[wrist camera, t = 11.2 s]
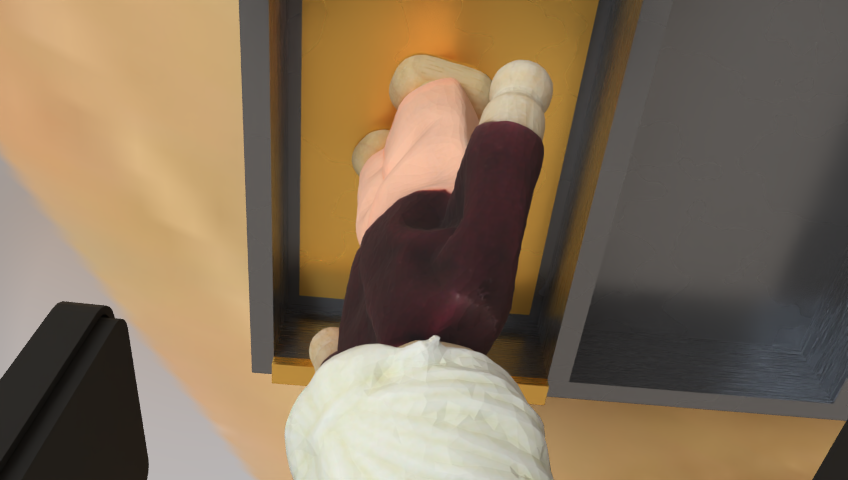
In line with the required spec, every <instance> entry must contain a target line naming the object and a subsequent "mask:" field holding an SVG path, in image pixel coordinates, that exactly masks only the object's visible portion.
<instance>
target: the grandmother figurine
mask: <svg viewBox="0 0 848 480" xmlns="http://www.w3.org/2000/svg"><path fill="white" fill-rule="evenodd" d="M552 95H553V82H552V80H551V78H550V76H549V74H548V73H547V71H546V70H545V69H544V68H543V67H542V66H540V65H539V64H538V63H535V62H532V61H529V60H515V61H512V62H510V63H507V64H506V65H504V66H503V67H501V68H500V69H499V70H498V71H497V73H496V74H495V76H494V78H493V80H491V79H490V78H489V77H488V76H487V75H486V74H484V73H483V72H481V71H479V70H476V69H473V68H470V67H467V66H464V65H460V64H456V63H453V62H449V61H446V60H443V59H440V58H437V57H432V56H428V55H414V56H411V57H409V58H407V59H405V60H404V61H403V62H401V63H400V65H399V66H398V67H397V69H396V71H395V73H394V75H393V77H392V80H391V82H390V85H389V96H390V100H391V102H392V104H393V106H394V107H395V108H396V109H397V112H396V115H395V118H394V121H393V124H392V127H391V129H390V130H385V129H384V130H377V131H373V132H371V133H369V134H368V135H366V136H365V137H364V138H363V139H362V140H361V141H360V142H359V143H358V144H357V146H356V147H355V149H354V151H353V154H352V165H353V168H354V170H355V172H356V173H357V174H358V176H359V187H358V195H357V203H358V207H357V218H356V234H357V239H358V242H359V245H360V248H359V249H358V250H357V252H356V255H355V257H354V260H353V263H352V266H351V271H350V276H349V281H348V284H347V289H346V294H345V298H344V304H343V310H342V316H341V322H340V327H339V328H338V327H328V328H325V329H322V330H321V331H319V332H318V333H317V334H316V335H315V336H314V337H313V339H312V341H311V343H310V347H309V356H310V359H311V362H312V364H313V366H314V369H315V374H314V376H313V378H312V379H311V381H310V383H309V384H308V385H307V386H306V388H305V389H304V390H303V391H302V392H301V394H300V395H299V396H298V398H297V400H296V402H295V403H294V405H293V407H292V409H291V412H290V414H289V417H288V420H287V423H286V426H285V444H286V454H287V458H288V463H289V467H290V471H291V474H292V476H293V480H554V479H553V476H552V473H551V468H550V462H549V455H548V449H547V444H546V441H545V432H544V425H543V422H542V420H541V418H540V416H539V415H538V414H537V413H536V412H535V411H534V410H533V408H532V407H531V406H530V405H529V404H528V402H527V400H526V399H525V397H524V395H523V393H522V391H521V390H520V388H519V386H518V384H517V383H516V382H515V381H514V379H513V378H512V377H511V376H510V375H509V374H508V373H507V372H506V371H505V370H504V369H503V368H502V367H500V366H499V365H497V364H496V363H494V362H493V361H492V360H491V359H490V358H488V357H487V356H486V355H487V353H488V352H489V351H490V349H491V347H492V345H493V343H494V342H495V340H496V339H497V338H498V336H499V335H500V333H501V331H502V329H503V327H504V325H505V323H506V321H507V319H508V316H509V313H510V311H511V309H512V301H513V294H514V290H515V279H516V274H517V269H518V261H519V255H520V251H521V245H522V240H523V237H524V232H525V228H526V225H527V218H528V214H529V210H530V206H531V201H532V197H533V193H534V188H535V186H536V183H537V181H538V178H539V175H540V172H541V168H542V164H543V158H544V145H543V142H542V141H543V136H544V132H545V115H544V113H545V112H546V110H547V109H548V107H549V105H550V102H551V99H552Z"/></svg>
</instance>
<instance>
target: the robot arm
mask: <svg viewBox="0 0 848 480" xmlns="http://www.w3.org/2000/svg"><path fill="white" fill-rule="evenodd" d="M148 468H149V463H148V455H147V448H146V442H145V435H144V429H143V422H142V416H141V410H140V403H139V397H138V391H137V384H136V379H135V372H134V365H133V358H132V352H131V346H130V340H129V333H128V327H127V323H126V322H125V320H123V319H115V317H114V314H113V311H112V309H111V308H110V307H108V306H104V305H93V304H83V303H73V302H64V301H62V302H60V303H57V305H56V306H55V307H54V308H53V309H52V310H51V311H50V313H49V314H48V315H47V317H46V318H45V319H44V321H43V322H42V324H41V325H40V326H39V328H38V329H37V330H36V332H35V333H34V334H33V336H32V337H31V339H30V340H29V341H28V343H27V344H26V345H25V347H24V348H23V349H22V351H21V352H20V353H19V355H18V356H17V358H16V359H15V360H14V362H13V363H12V364H11V366H10V367H9V369H8V370H7V371H6V373H5V374H4V375H3V377H2V378H1V379H0V480H147V476H148ZM812 480H848V419H847V421H846V423H845V424H844V426H843V428H842V430H841V431H840V433H839V435H838V436H837V438H836V440H835V442H834V443H833V445H832V447H831V448H830V450H829V452H828V454H827V455H826V457H825V459H824V461H823V462H822V464H821V466H820V467H819V469H818V471H817V473H816V474H815V476H814V478H813V479H812Z"/></svg>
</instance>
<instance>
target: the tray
mask: <svg viewBox="0 0 848 480" xmlns="http://www.w3.org/2000/svg"><path fill="white" fill-rule="evenodd" d="M239 18H240V46H241V74H242V102H243V130H244V158H245V186H246V214H247V242H248V271H249V299H250V327H251V355H252V372H253V373H265V374H272V383H276V384H288V385H301V386H307V385H308V384H309V383H310V381H311V379H312V378H313V376H314V374H315V369H314V366H313V364H312V362H311V359H310V356H309V347H310V343H311V341H312V339H313V337H314V336H315V335H316V334H317V333H318V332H319V331H321V330H322V329H325V328H328V327H338V328H339V327H340V322H341V316H342V310H343V304H344V298H345V294H346V289H347V284H348V281H349V276H350V271H351V266H352V263H353V260H354V257H355V255H356V252H357V250H358V249H359V248H360V245H359V242H358V239H357V234H356V218H357V207H358V203H357V195H358V187H359V176H358V174H357V173H356V172H355V170H354V168H353V165H352V154H353V151H354V149H355V147H356V146H357V144H358V143H359V142H360V141H361V140H362V139H363V138H364V137H365V136H366V135H368V134H369V133H371V132H373V131H377V130H384V129H385V130H390V129H391V127H392V124H393V121H394V118H395V115H396V112H397V109H396V108H395V107H394V106H393V104H392V102H391V100H390V96H389V85H390V82H391V80H392V77H393V75H394V73H395V71H396V69H397V67H398V66H399V65H400V63H401V62H403V61H404V60H405V59H407V58H409V57H411V56H414V55H428V56H432V57H437V58H440V59H443V60H446V61H449V62H453V63H456V64H460V65H464V66H467V67H470V68H473V69H476V70H479V71H481V72H483V73H484V74H486V75H487V76H488V77H489V78H490V79H491V80H493V78H494V76H495V74H496V73H497V71H498V70H499V69H500V68H501V67H503V66H504V65H506V64H507V63H510V62H512V61H515V60H529V61H532V62H535V63H538V64H539V65H540V66H542V67H543V68H544V69H545V70H546V71H547V73H548V74H549V76H550V78H551V80H552V82H553V95H552V99H551V102H550V105H549V107H548V109H547V110H546V112H545V113H544V115H545V132H544V136H543V141H542V142H543V145H544V158H543V164H542V168H541V172H540V175H539V178H538V181H537V183H536V186H535V188H534V193H533V197H532V201H531V206H530V210H529V214H528V218H527V225H526V228H525V232H524V237H523V240H522V245H521V251H520V255H519V261H518V269H517V274H516V279H515V290H514V294H513V301H512V309H511V311H510V313H509V316H508V319H507V321H506V323H505V325H504V327H503V329H502V331H501V333H500V335H499V336H498V338H497V339H496V340H495V342H494V343H493V345H492V347H491V349H490V351H489V352H488V353H487V355H486V356H487V357H488V358H490V359H491V360H492V361H493V362H494V363H496V364H497V365H499V366H500V367H502V368H503V369H504V370H505V371H506V372H507V373H508V374H509V375H510V376H511V377H512V378H513V379H514V381H515V382H516V383H517V384H518V386H519V388H520V390H521V391H522V393H523V395H524V397H525V399H526V400H527V402H528V404H536V405H544V404H545V400H546V396H548V397H560V398H572V399H585V400H597V401H609V402H622V403H634V404H646V405H658V406H671V407H683V408H695V409H708V410H720V411H732V412H745V413H757V414H769V415H781V416H794V417H806V418H818V419H831V420H843V421H847V419H848V0H239Z"/></svg>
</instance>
